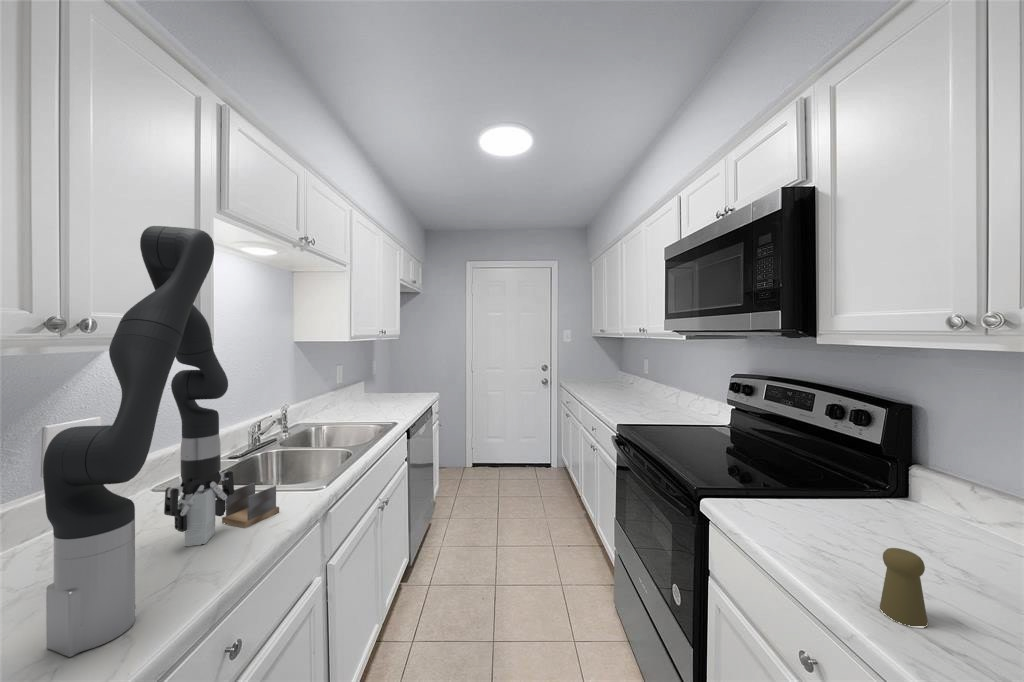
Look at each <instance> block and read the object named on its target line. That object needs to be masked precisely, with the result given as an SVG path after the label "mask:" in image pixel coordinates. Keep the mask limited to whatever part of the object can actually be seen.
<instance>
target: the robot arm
mask: <svg viewBox="0 0 1024 682" xmlns="http://www.w3.org/2000/svg"><path fill="white" fill-rule="evenodd" d="M140 236H141V237H140V238H139V239H140V241H139V242H140V243H139V246H140V252H141V256H142V261H143V263H144V266H145V268H146V270H147V271H146V272H147V273H148V276H149V279H150V281H151V284H152V286H153V289H154V291H152V292H151V293H149V294H147V296H145V297H144V298H142V299H141V300H139V301H138V302H137V303H135V304H134V305H133V306H132V307H130V309H128V310H127V311H126V312H125V313H124V314H123V316H122V317H121V318H120V321H119V323H118V325H117V328H116V330H115V332H114V335H113V336H112V339H111V342H110V344H109V349H108V353H109V360H110V363H111V365H112V368H113V370H114V372H115V373H114V374H115V375H116V377H117V380H118V383H119V386H120V390H121V400H120V404H119V405H120V406H119V409H118V412H117V415H116V416H115V420H114V422H113V423H112V424H111V425H109V424H108V425H83V426H82V425H81V426H72V427H67V428H65V429H63V430H62V431H60V432H58V433H57V434H56V435H55V436H54V437H53V438H52V439H51V440H50V442H49V443H48V445H47V447H46V449H45V453H44V456H43V461H42V462H43V463H42V477H43V487H44V499H45V513H46V516H47V519H48V522H49V523H50V524H51V526H52V531H53V532H52V533H53V583H50V584H48V585H47V586H46V589H45V590H46V592H45V593H46V595H45V596H46V600H45V601H46V610H45V611H46V614H45V616H46V619H45V620H46V624H45V625H46V631H45V632H46V648H47V649H48V650H51V651H53V652H56V653H58V654H61V655H63V656H65V657H68V658H70V657H73V656H76V655H77V654H79V653H81V652H84V651H87V650H88V651H89V650H91V649H94V648H97V647H99V646H102V645H104V644H106V643H108V642H111V641H113V640H114V639H116V638H118V637H120V636H121V635H123V634H124V633H125V632H126V631H128V630H129V629H130V628H131V627H132V626H133V625H134V623H135V621H136V610H137V608H136V507H135V503H134V501H133V500H132V499H129V498H128V497H125V496H122V495H119V494H117V493H114V492H112V491H111V490H109V489H108V488H107V487H106V486H105V485H117V484H123V483H124V484H125V483H127V482H129V481H131V480H132V479H134V478H135V477H136V476H137V475H138V474H139V473H140V472H141V469H142V468H143V466H144V465H145V463H146V461H147V458H148V455H149V453H150V448H151V445H152V441H153V437H154V432H155V427H156V423H157V419H158V415H159V411H160V410H159V409H160V405H161V401H162V398H163V394H164V390H165V388H166V384H167V381H168V378H169V374H170V373H171V370H172V366H173V364H174V362H175V360H176V361H177V362H178V363H179V364H182V365H186V366H190V367H194V368H197V369H183V370H179V371H178V372H177V373H175V374H174V376H173V377H172V379H171V383H170V388H171V393H172V396H173V399H174V400H175V403H176V406H177V409H178V412H179V416H180V421H181V442H180V475H181V478H182V483H181V485H180V484H179V486H178V485H177V486H176V487H170V486H169V487H167V488H166V489H165V491H164V493H165V494H164V506H163V507H164V509H163V514H164V515H166V516H168V517H169V516H170V517H174V529H175V531H177V532H181V533H185V531H186V530H187V515H186V512H187V511H188V509H189V508H190V506H192V505H193V504H194V495H195V494H196V493H200V492H202V491H203V490H204V489H207V488H212V490H213V491H214V492H215V495H216V504H215V517H222V516H223V517H224V515H225V513H226V499H227V497H228V496H229V495H232V494H233V493H234V490H235V483H234V472H233V471H232V470H225V469H224V470H222V469H221V466H222V465H221V463H222V462H221V458H222V455H221V438H220V415H219V412H218V411H217V410H215V409H212V408H208V407H203V406H200V405H199V404H198V403H197V400H216V399H220V398H222V397H223V396H225V395H226V393H227V391H228V388H229V379H228V377H227V374H226V372H225V370H224V369H223V367H222V365H221V362H220V361H219V359H218V357H217V356H216V353H215V351H214V346H213V340H212V332H211V328H210V325H209V323H208V321H207V318H206V317H205V316H204V315H203V314H202V312H201V311H200V310H199V309H198V308H197V306H196V305H195V304H194V303H195V301H196V299H197V297H198V294H199V292H200V290H201V288H202V286H203V284H204V282H205V280H206V279H207V276H208V274H209V272H210V270H211V267H212V265H213V261H214V255H215V245H214V240H213V238H212V237H211V236H210V234H209V233H208V232H206V231H204V230H201V229H199V228H197V229H196V228H191V227H181V226H180V227H179V226H169V225H168V226H165V225H164V226H163V225H151V226H148V227H147V228H145V229H144V230H143V231H142V233H141V235H140ZM221 470H222V471H221ZM220 482H221V487H222V488H221V487H220V486H219V483H220ZM181 491H182V492H183V494H182V496H181V497H180V493H181ZM186 494H187V495H189V494H193V495H192V496H191V497H190V499H189V500H185V495H186Z"/></svg>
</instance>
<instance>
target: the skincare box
mask: <svg viewBox="0 0 1024 682" xmlns="http://www.w3.org/2000/svg"><path fill="white" fill-rule="evenodd" d="M192 495H193V494H189V495H187V494H186V495H185V500H189V499H190V497H191V496H192ZM216 500H217V499H216V495H215V492H214V491H213V490H212V488H207V489H204V490H203V491H202V492H200V493H196V494H195V495H194V504H193V505H192V506H190V508H189V509H188V511H187V512H186V515H187V530H186V531H184V541H183V543H184V544H183V545H184V547H185V546H188V547H193V546H192V545H198V546H202V545H201V544H204V545H205V544H207V543H208V542H209V540H210V539H211V538H212V537H213V536H214V534H215V533H216V515H215V504H216Z"/></svg>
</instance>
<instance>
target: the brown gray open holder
mask: <svg viewBox="0 0 1024 682" xmlns="http://www.w3.org/2000/svg"><path fill="white" fill-rule="evenodd" d="M278 513H280V506H277V486H276V485H274V486H271V487H269V488H266V489H263V490H262V491H258V492H256V482H253V483H249V484H248V485H244V486H242V487H239V488H236V489H234V493H233V494H232V495H229V496H228V497H227V499H226V510H225V516H223V517H221V523H225V524H224V525H227V524H229V525H228V526H232V525H234V526H233V527H237V526H238V527H239V528H242V527H243V529H246V528H249V527H250V526H253V525H255V524H257V523H260V522H261V521H264V520H266V519H268V518H270V517H273V516H274V515H277V514H278ZM238 527H237V528H238Z"/></svg>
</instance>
